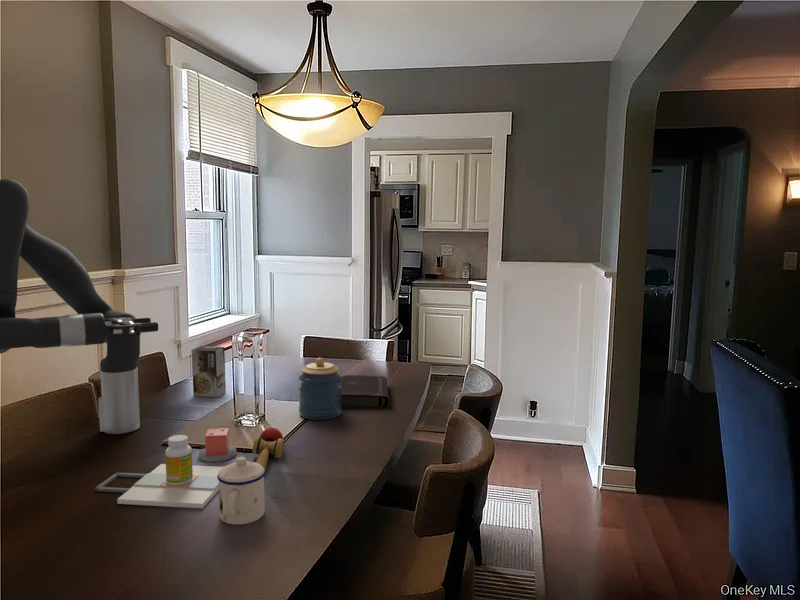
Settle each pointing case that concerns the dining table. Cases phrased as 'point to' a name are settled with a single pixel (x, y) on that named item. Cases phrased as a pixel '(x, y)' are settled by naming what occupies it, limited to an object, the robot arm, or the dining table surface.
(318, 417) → the canister
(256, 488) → the teacup with lid
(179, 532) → the dining table surface
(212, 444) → the red die
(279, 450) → the kendama
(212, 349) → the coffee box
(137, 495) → the game board
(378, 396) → the diary
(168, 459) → the supplement bottle
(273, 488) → the dining table surface
